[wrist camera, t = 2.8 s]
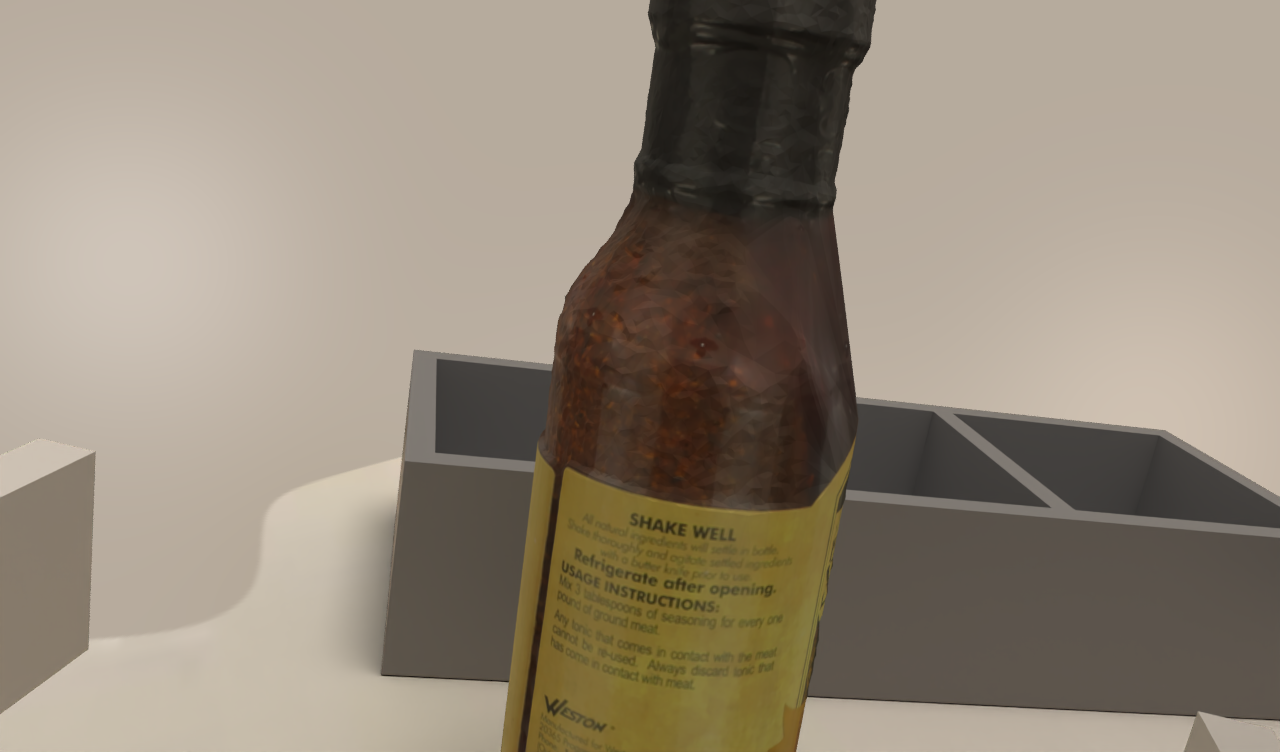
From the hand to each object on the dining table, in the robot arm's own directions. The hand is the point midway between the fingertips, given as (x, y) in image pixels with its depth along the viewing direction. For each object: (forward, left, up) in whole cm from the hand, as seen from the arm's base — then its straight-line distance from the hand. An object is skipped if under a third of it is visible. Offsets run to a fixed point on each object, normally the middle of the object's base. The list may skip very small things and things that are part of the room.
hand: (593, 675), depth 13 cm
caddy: (-13, -23, -11) cm, 28 cm away
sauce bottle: (-3, -9, -11) cm, 15 cm away
